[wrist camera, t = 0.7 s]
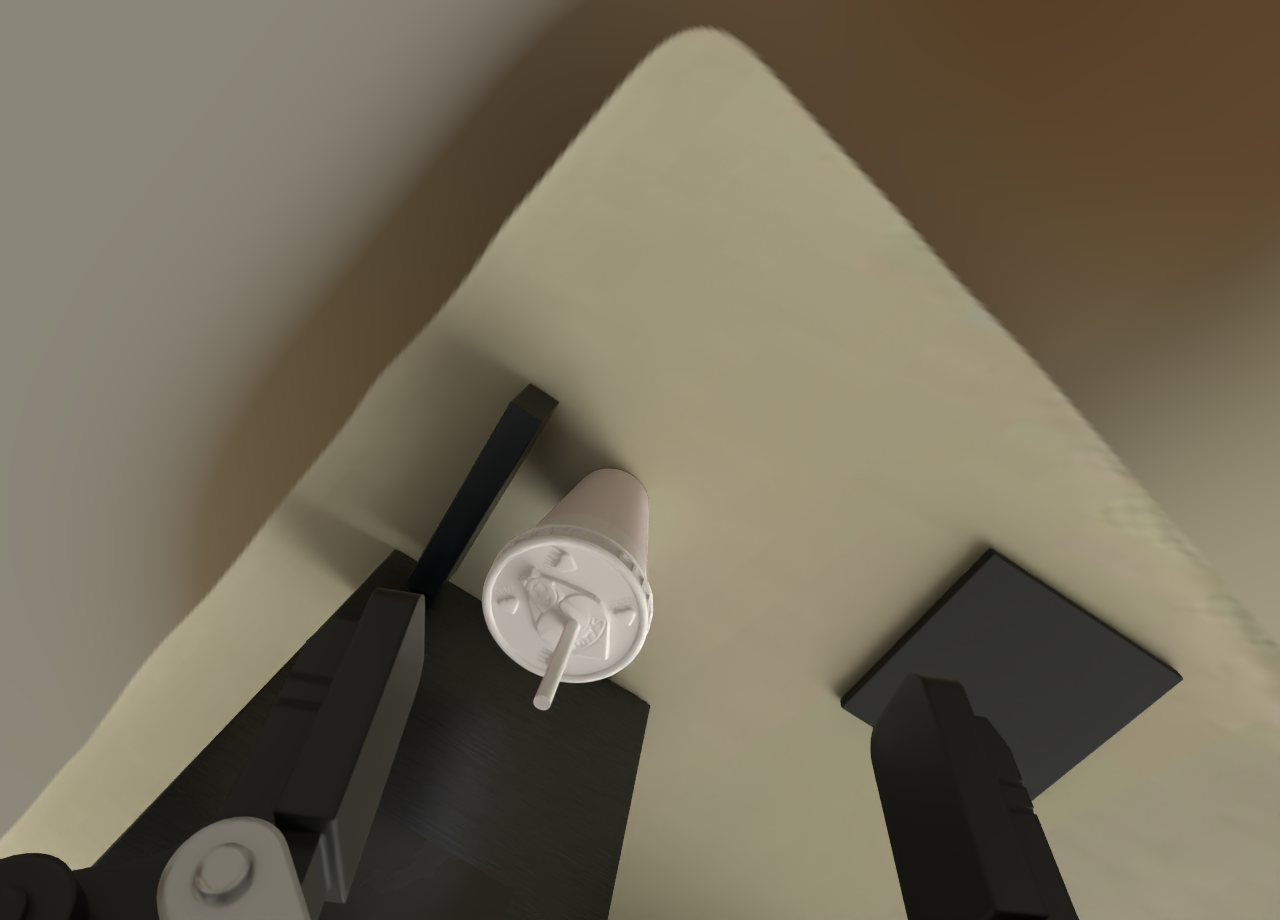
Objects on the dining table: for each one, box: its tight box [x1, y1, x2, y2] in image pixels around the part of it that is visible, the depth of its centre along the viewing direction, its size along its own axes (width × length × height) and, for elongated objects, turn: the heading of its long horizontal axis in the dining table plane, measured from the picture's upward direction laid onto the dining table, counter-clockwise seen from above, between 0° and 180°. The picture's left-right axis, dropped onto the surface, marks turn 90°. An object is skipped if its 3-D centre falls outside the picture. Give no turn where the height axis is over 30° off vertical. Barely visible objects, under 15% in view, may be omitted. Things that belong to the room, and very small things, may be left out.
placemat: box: [841, 549, 1183, 801], centre depth 36 cm, size 11×11×1 cm
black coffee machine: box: [91, 384, 650, 920], centre depth 26 cm, size 16×16×25 cm
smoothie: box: [482, 468, 653, 710], centre depth 29 cm, size 6×6×14 cm
